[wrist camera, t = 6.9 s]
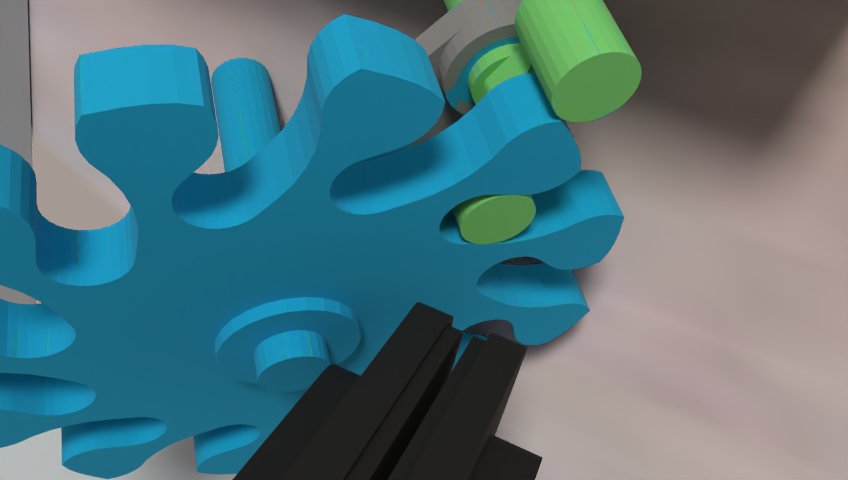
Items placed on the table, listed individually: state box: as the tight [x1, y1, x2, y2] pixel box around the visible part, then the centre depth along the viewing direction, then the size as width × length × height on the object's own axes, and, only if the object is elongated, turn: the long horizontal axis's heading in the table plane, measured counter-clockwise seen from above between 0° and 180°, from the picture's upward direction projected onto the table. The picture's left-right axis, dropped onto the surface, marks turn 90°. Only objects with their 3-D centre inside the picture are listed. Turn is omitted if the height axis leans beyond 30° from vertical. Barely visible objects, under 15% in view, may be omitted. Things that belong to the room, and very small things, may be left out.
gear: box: [0, 0, 642, 479], centre depth 13 cm, size 11×6×10 cm
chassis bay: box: [0, 0, 237, 480], centre depth 14 cm, size 15×16×4 cm
